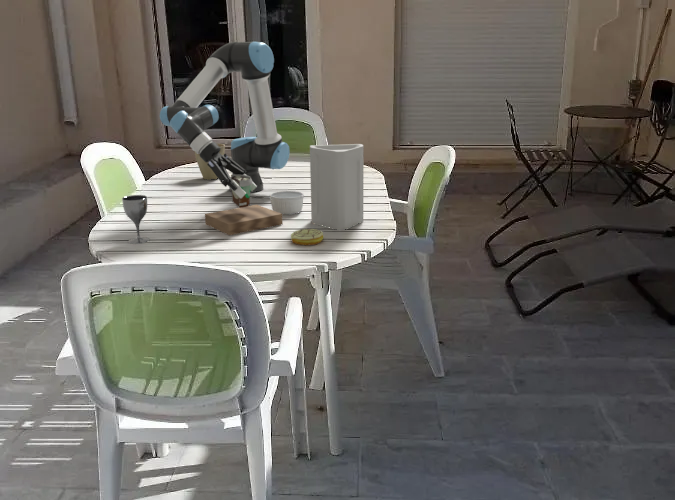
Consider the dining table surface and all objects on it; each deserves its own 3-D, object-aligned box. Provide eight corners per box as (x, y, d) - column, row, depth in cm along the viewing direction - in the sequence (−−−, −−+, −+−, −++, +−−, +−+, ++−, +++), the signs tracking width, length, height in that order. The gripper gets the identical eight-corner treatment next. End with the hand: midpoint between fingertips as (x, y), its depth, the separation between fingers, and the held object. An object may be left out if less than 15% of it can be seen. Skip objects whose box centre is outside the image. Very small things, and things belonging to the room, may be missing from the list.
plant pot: (233, 177, 329) (231, 144, 324) (212, 182, 317) (210, 149, 312) (210, 174, 336) (208, 142, 331) (189, 179, 324) (186, 146, 320)
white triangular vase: (314, 231, 239) (312, 152, 230) (311, 220, 253) (309, 145, 244) (367, 229, 241) (368, 150, 232) (361, 218, 255) (361, 144, 246)
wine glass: (138, 245, 224) (133, 201, 220) (121, 241, 228) (116, 198, 224) (156, 239, 231) (151, 196, 226) (139, 236, 235) (135, 193, 230)
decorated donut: (298, 236, 233) (298, 226, 232) (327, 239, 230) (327, 228, 229) (286, 245, 224) (286, 234, 223) (317, 248, 221) (316, 236, 220)
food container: (257, 207, 242) (257, 180, 239) (240, 208, 240) (240, 181, 237) (247, 199, 253) (246, 173, 250) (231, 200, 250) (230, 174, 247)
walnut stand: (257, 214, 261) (256, 204, 260) (282, 224, 247) (282, 213, 246) (205, 224, 248) (204, 213, 247) (229, 235, 235) (228, 224, 233)
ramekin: (289, 205, 274) (288, 188, 272) (311, 211, 265) (310, 194, 263) (263, 211, 266) (263, 194, 263) (285, 217, 257) (284, 199, 254)
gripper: (212, 149, 254) (253, 192, 255) (185, 160, 232) (230, 206, 234) (224, 136, 251) (266, 178, 253) (199, 145, 229) (244, 192, 231)
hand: (249, 192), depth 243 cm, fingers closed on food container, 11 cm apart
